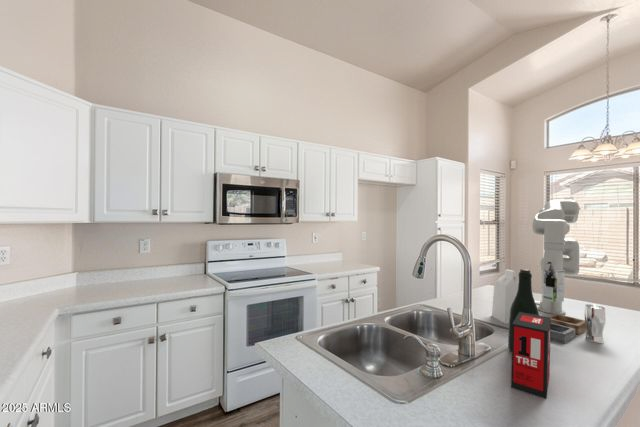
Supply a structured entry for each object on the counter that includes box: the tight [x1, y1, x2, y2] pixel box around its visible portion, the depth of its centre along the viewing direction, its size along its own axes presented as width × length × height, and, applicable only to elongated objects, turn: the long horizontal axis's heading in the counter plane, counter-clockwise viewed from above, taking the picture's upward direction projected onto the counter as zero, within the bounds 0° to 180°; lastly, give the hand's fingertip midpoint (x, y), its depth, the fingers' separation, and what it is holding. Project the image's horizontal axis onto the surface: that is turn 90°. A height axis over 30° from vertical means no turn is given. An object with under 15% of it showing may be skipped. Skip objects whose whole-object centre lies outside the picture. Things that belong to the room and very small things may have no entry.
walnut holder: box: [547, 314, 587, 337], centre depth 150 cm, size 13×13×4 cm
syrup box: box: [543, 269, 565, 303], centre depth 140 cm, size 6×6×14 cm
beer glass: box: [584, 303, 607, 344], centre depth 136 cm, size 7×7×15 cm
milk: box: [491, 269, 519, 325], centre depth 161 cm, size 12×12×26 cm
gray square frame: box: [550, 323, 576, 345], centre depth 140 cm, size 13×13×4 cm
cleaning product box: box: [510, 312, 551, 400], centre depth 99 cm, size 16×9×20 cm, turn 141°
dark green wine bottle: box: [507, 268, 540, 353], centre depth 121 cm, size 10×10×33 cm
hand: (553, 285), depth 140 cm, fingers closed on syrup box, 7 cm apart
